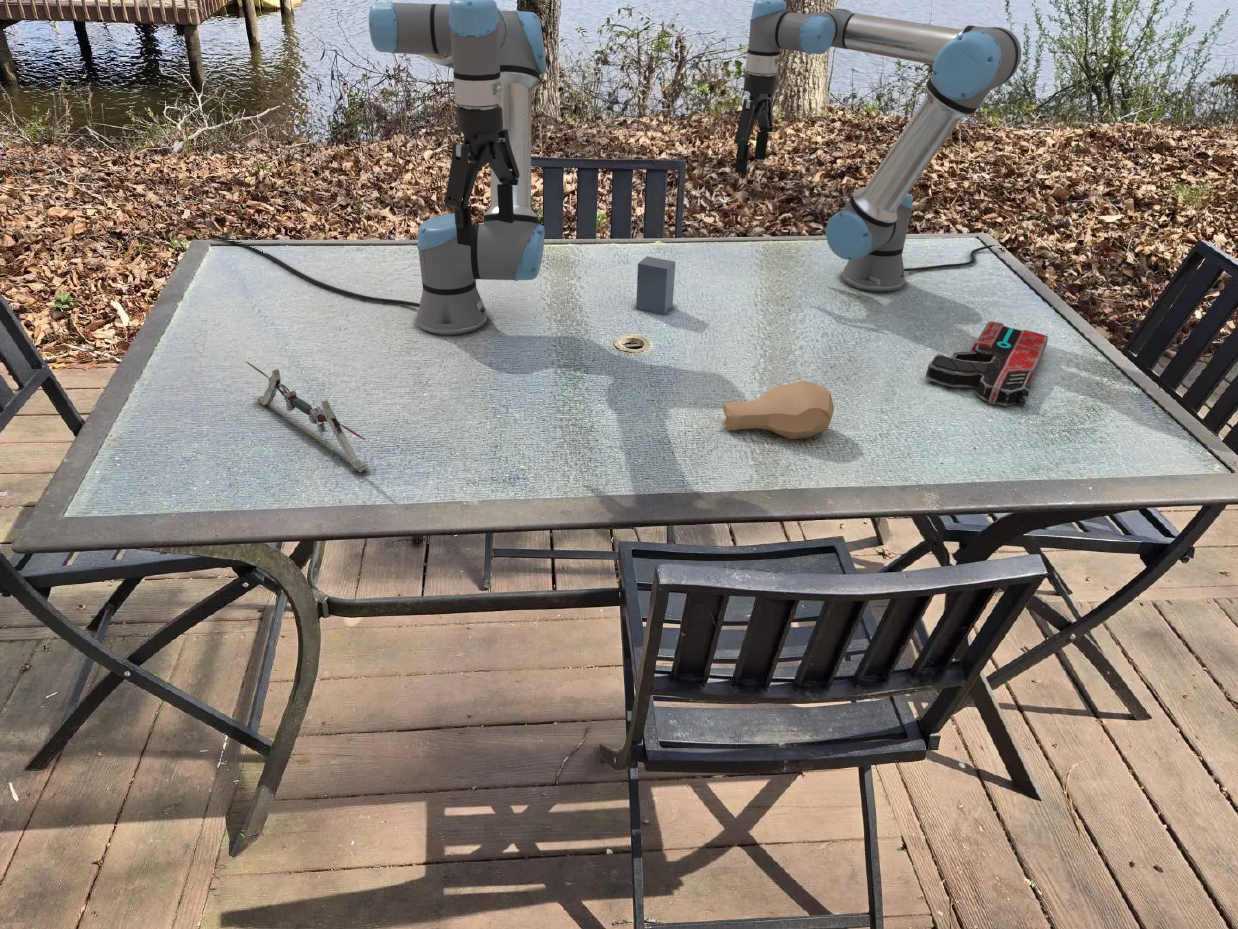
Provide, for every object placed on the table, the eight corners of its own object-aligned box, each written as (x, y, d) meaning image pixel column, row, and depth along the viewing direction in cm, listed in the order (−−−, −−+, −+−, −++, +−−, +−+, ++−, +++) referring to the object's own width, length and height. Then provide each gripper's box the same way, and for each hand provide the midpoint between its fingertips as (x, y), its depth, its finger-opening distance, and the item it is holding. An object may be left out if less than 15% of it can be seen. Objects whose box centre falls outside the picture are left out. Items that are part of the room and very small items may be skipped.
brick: (636, 308, 206) (637, 263, 199) (644, 300, 210) (646, 256, 203) (664, 314, 203) (667, 268, 197) (672, 306, 207) (675, 261, 201)
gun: (926, 366, 174) (1027, 394, 166) (962, 310, 196) (1054, 333, 188) (920, 386, 177) (1020, 414, 169) (957, 329, 199) (1047, 352, 191)
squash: (838, 445, 158) (841, 407, 151) (727, 454, 159) (725, 416, 153) (828, 406, 165) (831, 369, 159) (722, 415, 167) (721, 378, 161)
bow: (376, 475, 146) (368, 423, 140) (367, 479, 145) (359, 428, 139) (259, 394, 167) (248, 347, 162) (250, 398, 166) (238, 350, 160)
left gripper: (455, 123, 132) (465, 258, 144) (536, 94, 151) (539, 215, 163) (414, 117, 134) (427, 250, 146) (498, 89, 153) (504, 209, 165)
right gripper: (757, 83, 195) (746, 180, 207) (793, 67, 214) (781, 156, 225) (726, 79, 198) (717, 174, 210) (764, 63, 216) (753, 151, 228)
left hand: (486, 232), depth 154 cm, fingers open, 13 cm apart
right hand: (750, 165), depth 218 cm, fingers open, 13 cm apart
